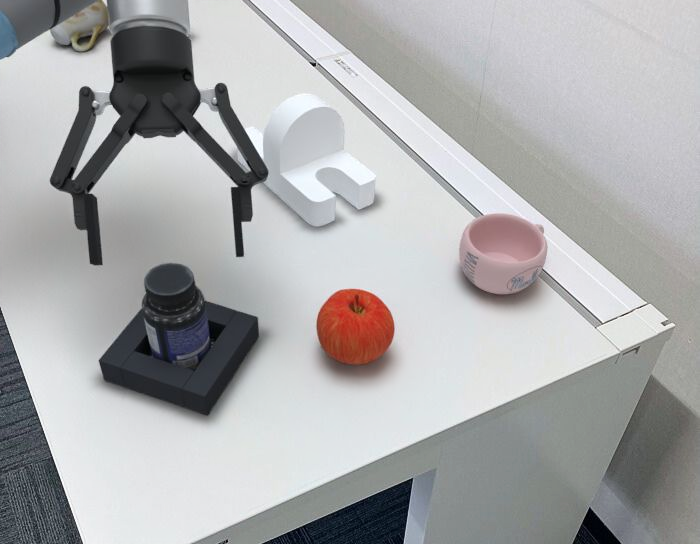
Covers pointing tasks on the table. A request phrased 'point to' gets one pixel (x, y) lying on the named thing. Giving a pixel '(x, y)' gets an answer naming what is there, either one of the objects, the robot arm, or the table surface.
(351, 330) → the apple
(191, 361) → the pill bottle
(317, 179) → the bracket
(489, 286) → the mug
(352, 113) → the table surface
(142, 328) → the socket pad
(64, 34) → the mug
